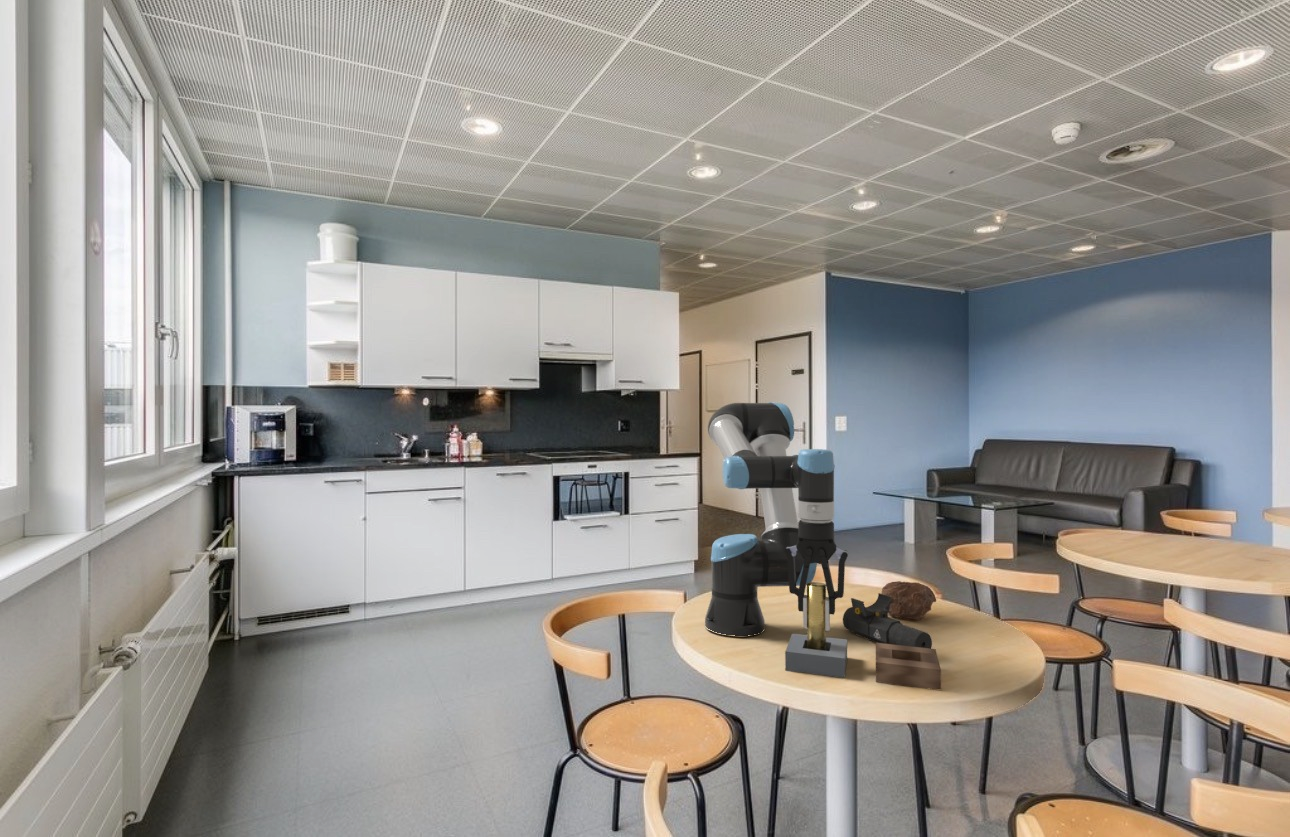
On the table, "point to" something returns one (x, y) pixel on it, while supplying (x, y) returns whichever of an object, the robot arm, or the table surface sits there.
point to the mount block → (816, 657)
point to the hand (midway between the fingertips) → (816, 627)
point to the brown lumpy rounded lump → (909, 599)
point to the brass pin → (816, 616)
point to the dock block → (907, 666)
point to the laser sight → (882, 624)
